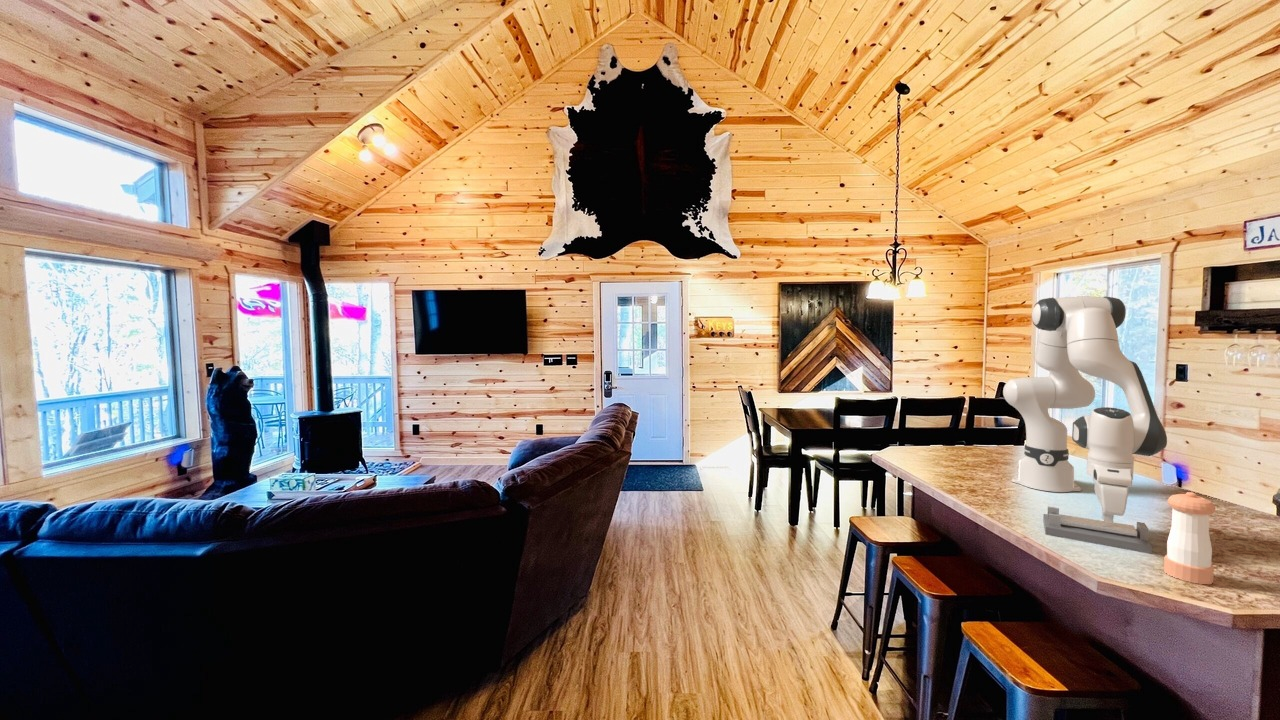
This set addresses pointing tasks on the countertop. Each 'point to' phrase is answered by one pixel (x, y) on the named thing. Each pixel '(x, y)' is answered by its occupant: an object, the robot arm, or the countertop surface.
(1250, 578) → the countertop surface
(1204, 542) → the pepper shaker
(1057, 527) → the clamp board
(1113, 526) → the clamp lever
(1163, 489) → the countertop surface
